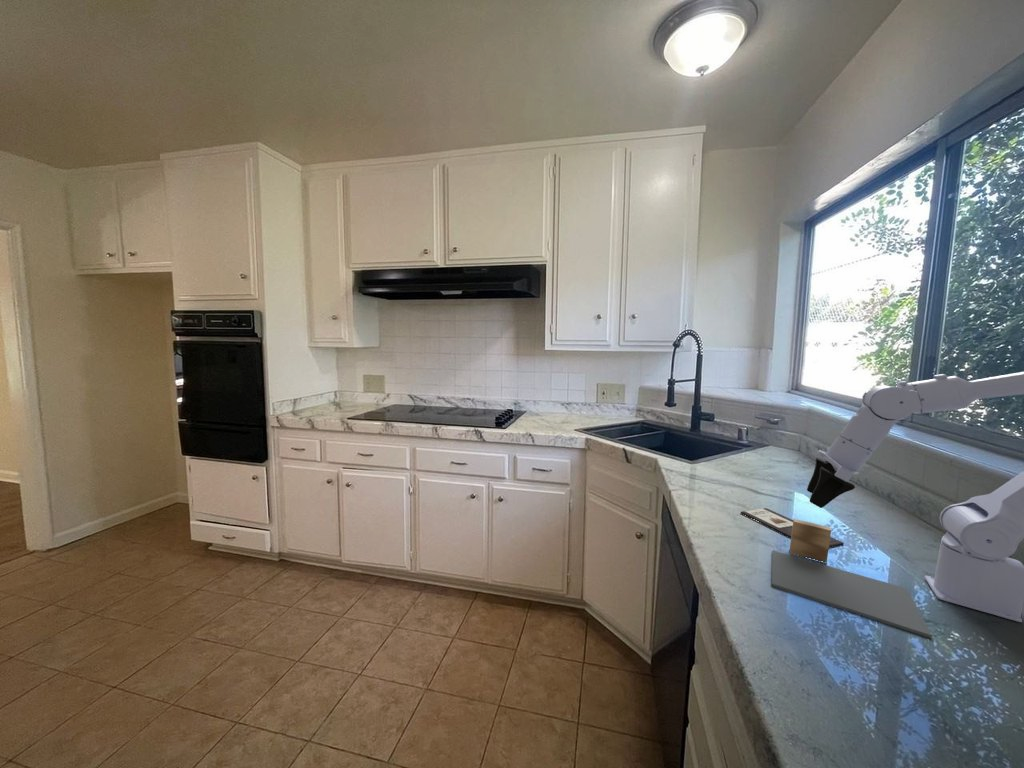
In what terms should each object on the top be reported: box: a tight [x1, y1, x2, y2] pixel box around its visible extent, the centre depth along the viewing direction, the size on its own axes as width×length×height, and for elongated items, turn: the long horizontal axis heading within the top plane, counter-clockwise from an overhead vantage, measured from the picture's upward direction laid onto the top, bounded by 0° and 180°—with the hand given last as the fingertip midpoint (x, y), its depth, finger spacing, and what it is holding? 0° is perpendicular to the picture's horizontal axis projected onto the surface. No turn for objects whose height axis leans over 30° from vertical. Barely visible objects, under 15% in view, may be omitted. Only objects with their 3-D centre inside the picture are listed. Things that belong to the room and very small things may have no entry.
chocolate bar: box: [740, 507, 844, 548], centre depth 92 cm, size 9×1×18 cm
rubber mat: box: [771, 550, 933, 639], centre depth 69 cm, size 20×14×1 cm
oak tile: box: [789, 518, 832, 564], centre depth 79 cm, size 6×2×7 cm, turn 56°
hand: (813, 498), depth 79 cm, fingers open, 7 cm apart
